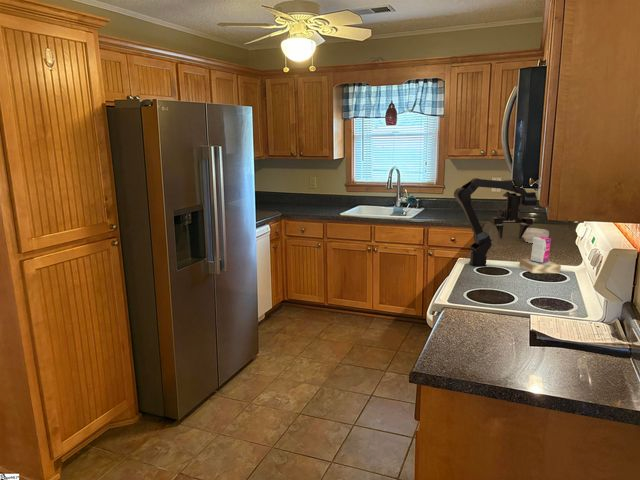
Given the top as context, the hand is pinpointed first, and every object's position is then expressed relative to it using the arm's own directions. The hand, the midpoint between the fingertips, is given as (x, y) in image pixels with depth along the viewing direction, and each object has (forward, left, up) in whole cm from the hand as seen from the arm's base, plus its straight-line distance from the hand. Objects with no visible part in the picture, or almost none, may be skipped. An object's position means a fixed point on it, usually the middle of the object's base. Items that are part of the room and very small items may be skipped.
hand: (510, 238), depth 232 cm
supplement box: (+11, -9, -10) cm, 17 cm away
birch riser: (+11, -9, -13) cm, 19 cm away
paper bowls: (+41, +59, -13) cm, 73 cm away
